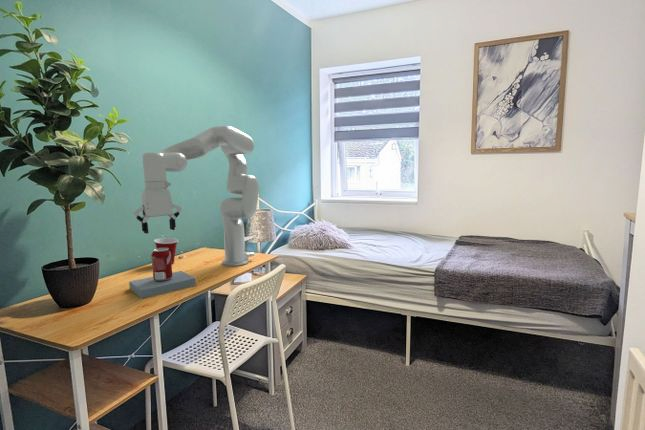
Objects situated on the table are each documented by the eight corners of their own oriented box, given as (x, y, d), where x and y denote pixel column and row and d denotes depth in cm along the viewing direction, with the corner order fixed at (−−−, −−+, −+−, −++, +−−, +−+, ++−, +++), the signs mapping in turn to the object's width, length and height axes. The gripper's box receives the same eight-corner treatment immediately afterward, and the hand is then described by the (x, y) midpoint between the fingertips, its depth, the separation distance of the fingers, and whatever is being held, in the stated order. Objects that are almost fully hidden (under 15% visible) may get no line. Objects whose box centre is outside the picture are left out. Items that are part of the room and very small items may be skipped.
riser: (181, 277, 151) (181, 270, 151) (196, 285, 141) (195, 278, 140) (129, 289, 138) (129, 281, 137) (141, 298, 127) (140, 290, 127)
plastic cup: (172, 267, 167) (170, 242, 166) (150, 266, 169) (148, 241, 167) (184, 261, 178) (182, 237, 176) (164, 260, 179) (162, 237, 178)
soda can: (165, 282, 135) (163, 251, 133) (149, 282, 136) (146, 251, 135) (176, 277, 142) (173, 247, 140) (160, 276, 143) (158, 247, 141)
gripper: (175, 184, 143) (178, 227, 145) (127, 186, 131) (131, 233, 133) (183, 185, 137) (186, 229, 139) (133, 187, 125) (138, 235, 128)
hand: (159, 231), depth 136 cm, fingers open, 9 cm apart
